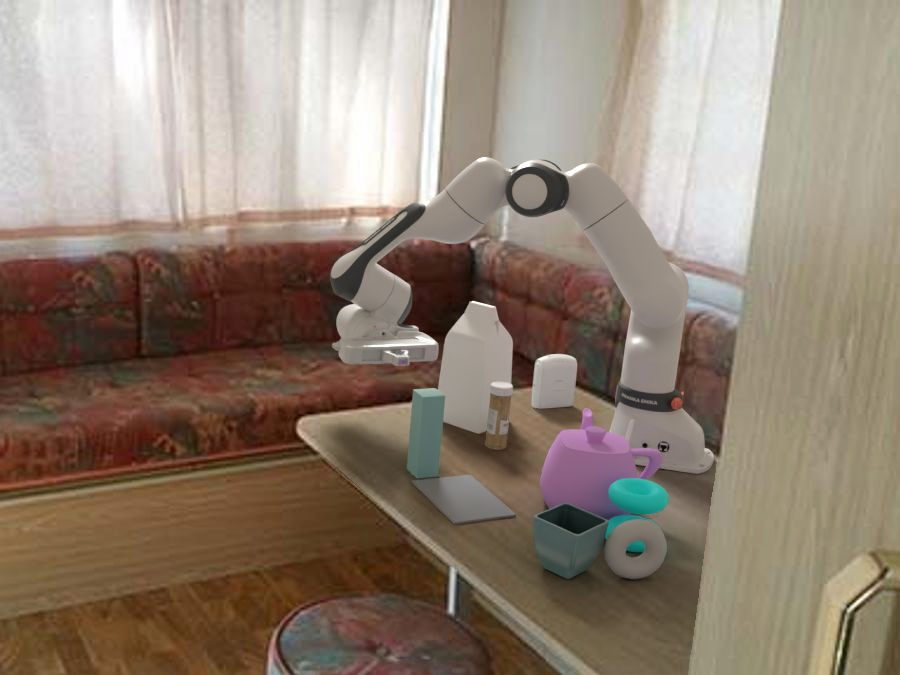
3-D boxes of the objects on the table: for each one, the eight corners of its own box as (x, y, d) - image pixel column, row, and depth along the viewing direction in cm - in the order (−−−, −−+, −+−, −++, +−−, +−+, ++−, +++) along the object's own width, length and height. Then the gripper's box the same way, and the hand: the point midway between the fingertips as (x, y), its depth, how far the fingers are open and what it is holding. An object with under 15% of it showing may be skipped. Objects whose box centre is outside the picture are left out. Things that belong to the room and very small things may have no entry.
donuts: (655, 505, 171) (599, 487, 176) (647, 561, 174) (592, 542, 179) (679, 486, 179) (624, 470, 184) (670, 541, 182) (617, 523, 187)
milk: (433, 418, 231) (443, 302, 224) (465, 407, 240) (475, 294, 233) (478, 433, 224) (490, 314, 217) (509, 421, 233) (521, 306, 226)
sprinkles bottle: (508, 451, 216) (515, 388, 212) (486, 450, 215) (492, 387, 212) (504, 442, 220) (510, 380, 217) (482, 442, 219) (488, 380, 216)
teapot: (661, 533, 184) (674, 452, 180) (540, 522, 184) (549, 441, 180) (643, 482, 206) (654, 408, 202) (534, 471, 206) (543, 398, 202)
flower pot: (603, 571, 169) (610, 520, 166) (571, 589, 162) (578, 535, 160) (559, 551, 174) (565, 501, 172) (526, 568, 168) (532, 515, 165)
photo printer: (536, 410, 242) (542, 358, 238) (527, 404, 245) (533, 352, 242) (575, 407, 246) (581, 356, 243) (566, 401, 250) (572, 351, 246)
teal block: (406, 469, 202) (413, 389, 198) (428, 467, 204) (435, 387, 200) (416, 478, 198) (423, 397, 194) (438, 476, 200) (445, 395, 196)
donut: (603, 583, 165) (611, 524, 162) (597, 572, 168) (605, 514, 166) (665, 583, 167) (674, 525, 164) (658, 573, 170) (667, 515, 167)
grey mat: (411, 482, 196) (412, 480, 196) (470, 476, 201) (470, 474, 201) (454, 524, 181) (454, 522, 181) (515, 516, 186) (516, 514, 186)
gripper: (330, 327, 213) (354, 348, 202) (423, 325, 222) (451, 344, 210) (327, 358, 215) (351, 379, 203) (420, 354, 224) (448, 374, 212)
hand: (403, 361), depth 207 cm, fingers closed
